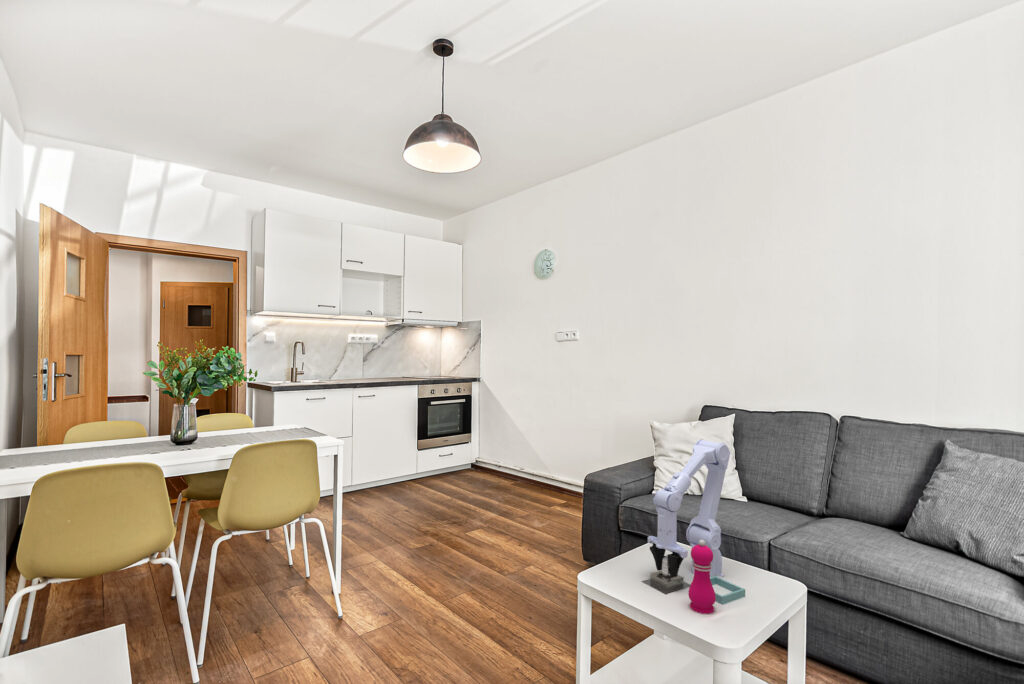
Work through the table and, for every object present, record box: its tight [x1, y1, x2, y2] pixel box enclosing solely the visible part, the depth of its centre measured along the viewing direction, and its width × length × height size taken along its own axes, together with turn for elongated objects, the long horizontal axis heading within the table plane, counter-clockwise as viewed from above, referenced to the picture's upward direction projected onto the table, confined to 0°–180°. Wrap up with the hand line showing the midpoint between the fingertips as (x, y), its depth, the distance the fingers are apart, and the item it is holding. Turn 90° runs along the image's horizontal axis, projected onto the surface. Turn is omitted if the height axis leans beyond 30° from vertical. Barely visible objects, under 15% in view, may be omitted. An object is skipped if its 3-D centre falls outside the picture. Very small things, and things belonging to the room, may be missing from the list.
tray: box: [710, 575, 746, 605], centre depth 150 cm, size 10×10×3 cm
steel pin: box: [662, 555, 672, 579], centre depth 156 cm, size 3×3×8 cm
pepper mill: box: [687, 540, 716, 615], centre depth 141 cm, size 7×7×20 cm
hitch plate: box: [640, 570, 691, 595], centre depth 156 cm, size 12×10×4 cm
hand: (666, 573), depth 156 cm, fingers open, 5 cm apart
